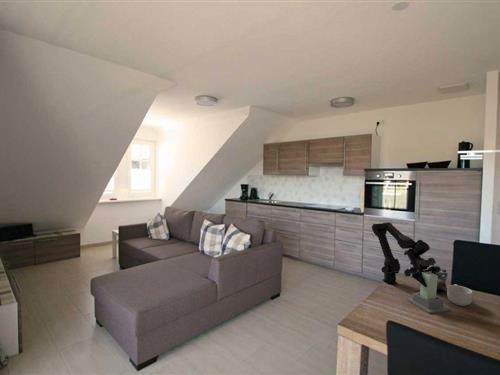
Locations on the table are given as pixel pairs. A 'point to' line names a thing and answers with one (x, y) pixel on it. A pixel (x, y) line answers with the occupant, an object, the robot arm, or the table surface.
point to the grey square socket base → (428, 304)
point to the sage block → (429, 286)
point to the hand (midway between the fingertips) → (430, 286)
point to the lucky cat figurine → (441, 280)
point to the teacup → (459, 295)
